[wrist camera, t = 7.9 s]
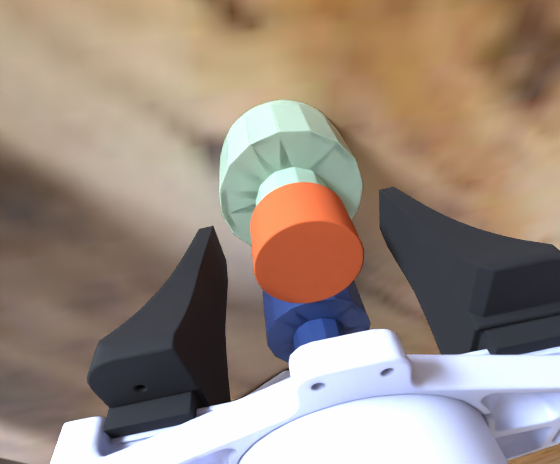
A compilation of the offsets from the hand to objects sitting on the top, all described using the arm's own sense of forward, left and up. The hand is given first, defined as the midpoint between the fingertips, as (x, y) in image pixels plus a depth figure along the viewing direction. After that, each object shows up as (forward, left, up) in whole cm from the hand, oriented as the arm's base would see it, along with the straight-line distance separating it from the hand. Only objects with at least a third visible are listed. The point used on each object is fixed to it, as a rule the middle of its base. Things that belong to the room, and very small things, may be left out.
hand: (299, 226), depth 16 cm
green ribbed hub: (0, 0, -6) cm, 6 cm away
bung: (0, 0, -2) cm, 2 cm away
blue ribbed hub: (-9, +6, -6) cm, 13 cm away
